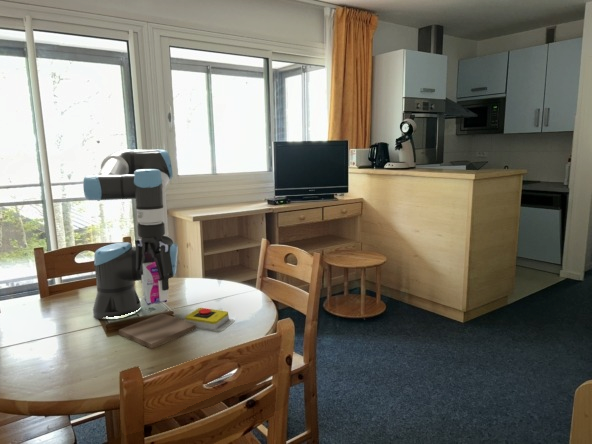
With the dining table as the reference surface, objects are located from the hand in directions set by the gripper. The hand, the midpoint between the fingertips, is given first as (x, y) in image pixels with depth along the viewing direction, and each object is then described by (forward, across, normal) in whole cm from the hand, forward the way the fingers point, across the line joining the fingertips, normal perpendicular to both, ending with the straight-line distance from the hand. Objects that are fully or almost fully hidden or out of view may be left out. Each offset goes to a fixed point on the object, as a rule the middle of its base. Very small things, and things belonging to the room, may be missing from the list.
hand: (155, 297), depth 130 cm
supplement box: (+1, 0, 0) cm, 1 cm away
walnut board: (+11, 0, 0) cm, 11 cm away
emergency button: (+12, +7, +14) cm, 20 cm away
